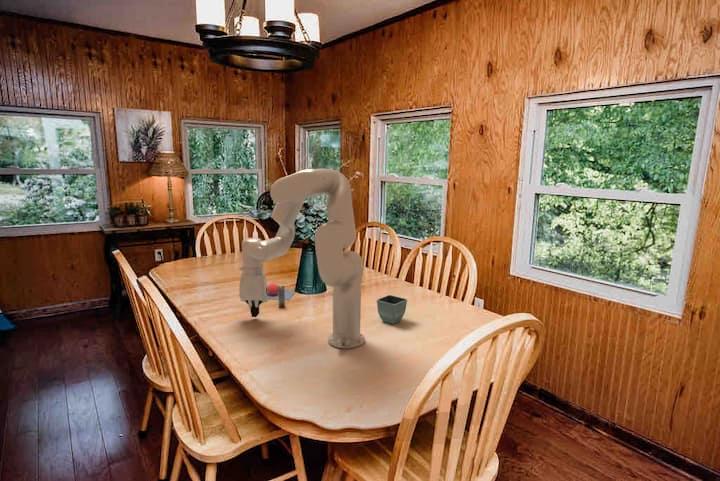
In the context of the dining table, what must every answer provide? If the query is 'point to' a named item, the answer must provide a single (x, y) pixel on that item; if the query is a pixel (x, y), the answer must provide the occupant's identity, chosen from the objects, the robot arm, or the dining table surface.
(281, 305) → the post right
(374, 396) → the dining table surface
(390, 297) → the flower pot
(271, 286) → the ball
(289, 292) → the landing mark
